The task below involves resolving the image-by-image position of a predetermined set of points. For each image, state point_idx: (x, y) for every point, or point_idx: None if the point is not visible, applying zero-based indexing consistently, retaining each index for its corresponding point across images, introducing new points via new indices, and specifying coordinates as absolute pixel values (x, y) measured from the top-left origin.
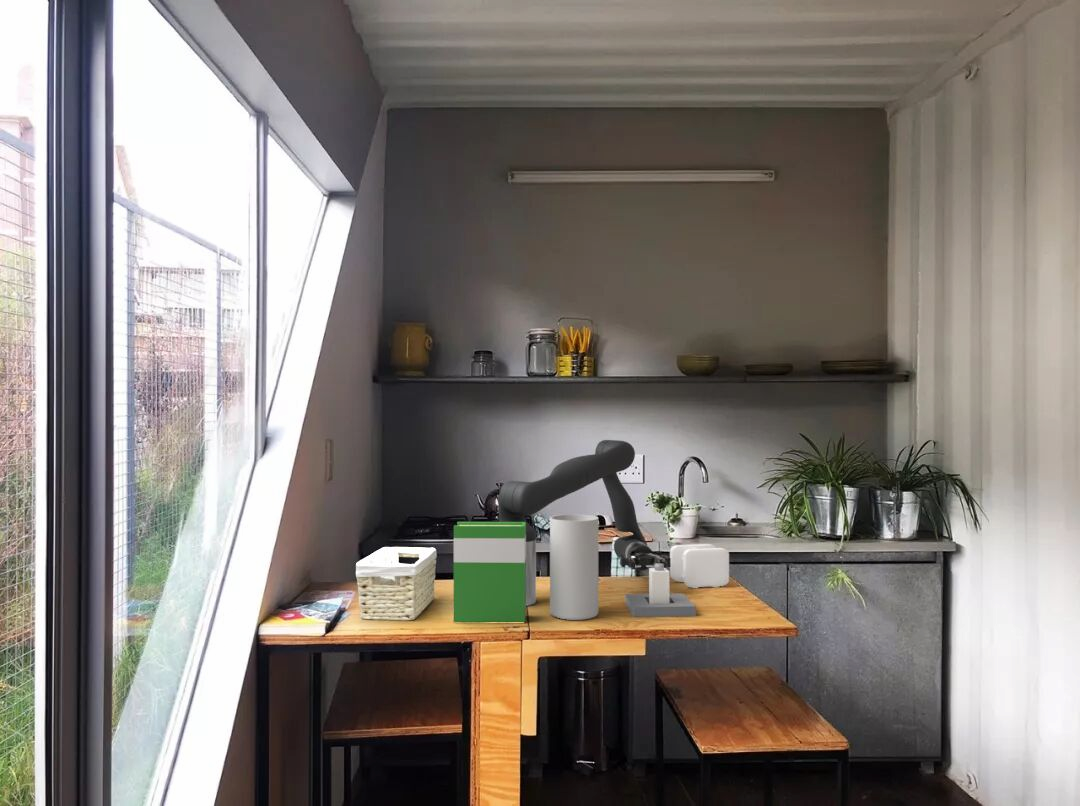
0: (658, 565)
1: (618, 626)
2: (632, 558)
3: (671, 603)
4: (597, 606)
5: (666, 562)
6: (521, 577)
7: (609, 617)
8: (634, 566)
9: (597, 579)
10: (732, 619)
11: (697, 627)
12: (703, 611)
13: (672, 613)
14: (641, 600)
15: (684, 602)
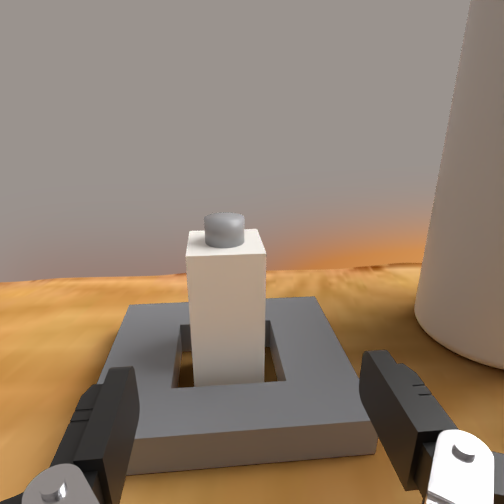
0: (229, 214)
1: (339, 279)
2: (438, 458)
3: None
4: (417, 294)
5: (85, 399)
6: None
7: (378, 317)
8: (365, 374)
9: (431, 219)
10: (46, 315)
11: (169, 279)
12: (76, 367)
13: None
14: (294, 343)
15: (144, 330)
